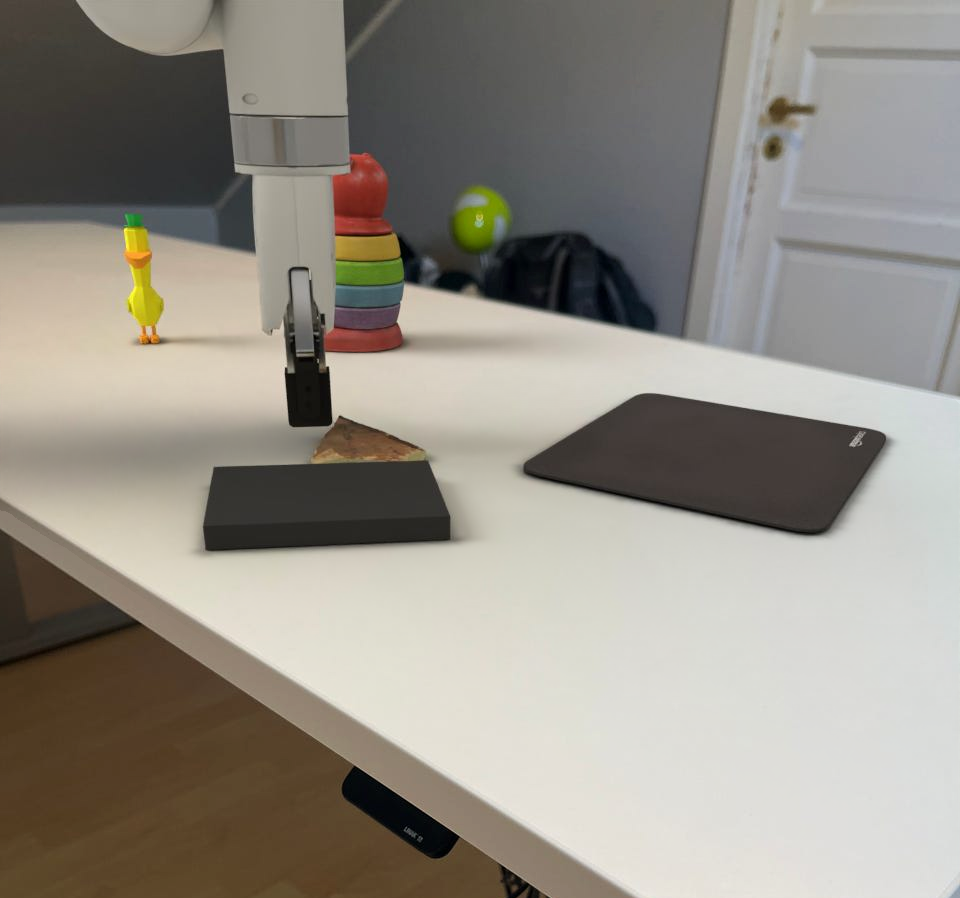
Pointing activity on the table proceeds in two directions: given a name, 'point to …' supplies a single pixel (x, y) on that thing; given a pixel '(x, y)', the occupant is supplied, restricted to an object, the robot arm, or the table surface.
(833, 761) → the table surface
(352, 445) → the shard
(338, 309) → the stacking bear
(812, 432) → the mouse pad
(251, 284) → the table surface
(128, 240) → the toy figure
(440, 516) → the black rectangular block
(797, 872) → the table surface
